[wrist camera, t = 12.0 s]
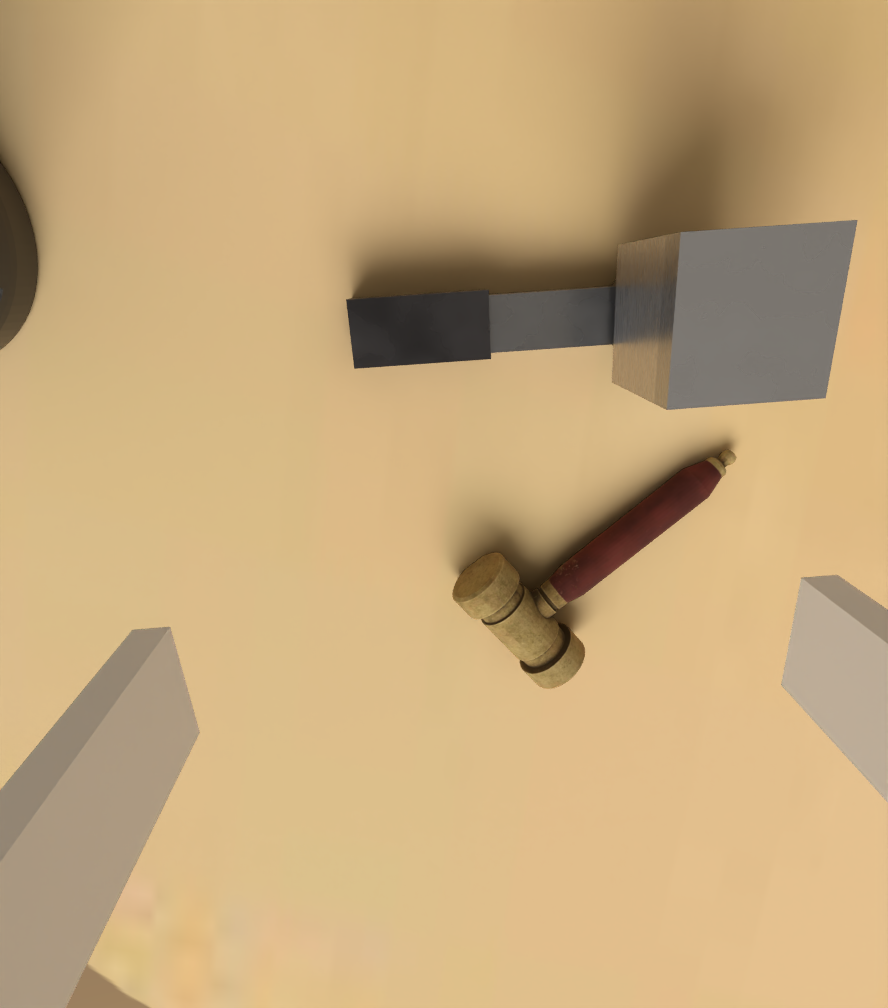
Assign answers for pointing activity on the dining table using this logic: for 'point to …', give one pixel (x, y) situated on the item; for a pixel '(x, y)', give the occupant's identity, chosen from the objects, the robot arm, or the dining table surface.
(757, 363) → the brushed metal cube
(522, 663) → the gavel
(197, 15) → the dining table surface
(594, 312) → the ratchet
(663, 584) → the dining table surface
